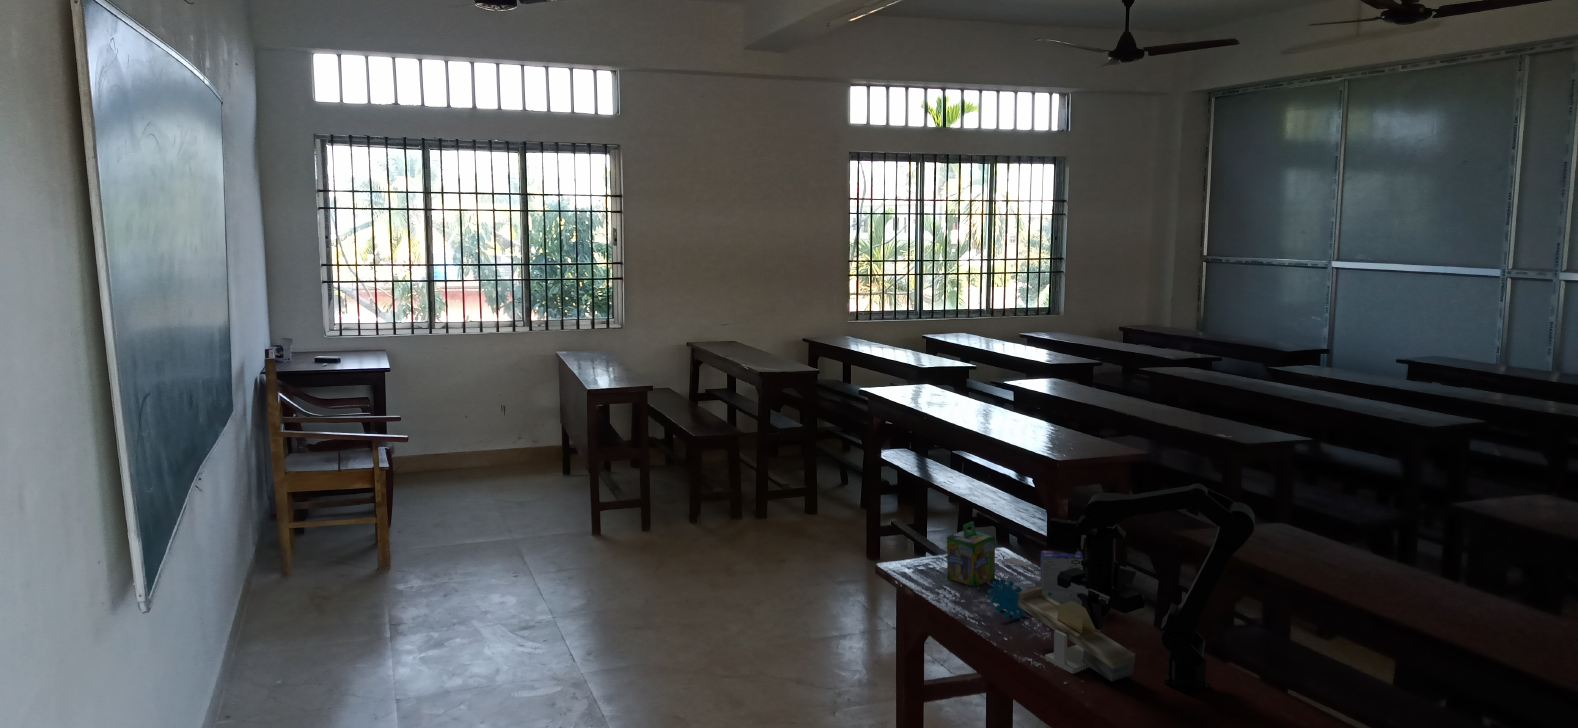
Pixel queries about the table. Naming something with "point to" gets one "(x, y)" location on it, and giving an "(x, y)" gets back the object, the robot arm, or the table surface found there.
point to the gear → (1006, 599)
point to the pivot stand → (1066, 654)
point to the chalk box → (970, 556)
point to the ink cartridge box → (1050, 570)
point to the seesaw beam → (1097, 646)
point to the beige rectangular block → (1075, 618)
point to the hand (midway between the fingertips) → (1098, 628)
